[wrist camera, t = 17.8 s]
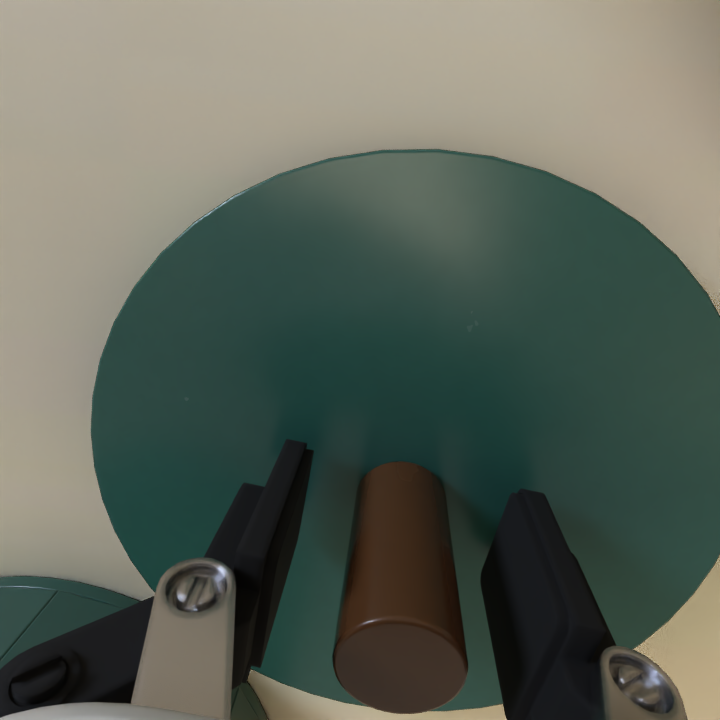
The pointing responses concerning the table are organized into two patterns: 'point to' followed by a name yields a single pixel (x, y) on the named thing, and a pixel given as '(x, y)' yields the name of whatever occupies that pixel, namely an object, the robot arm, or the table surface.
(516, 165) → the tin lid
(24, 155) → the table surface
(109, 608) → the tin
